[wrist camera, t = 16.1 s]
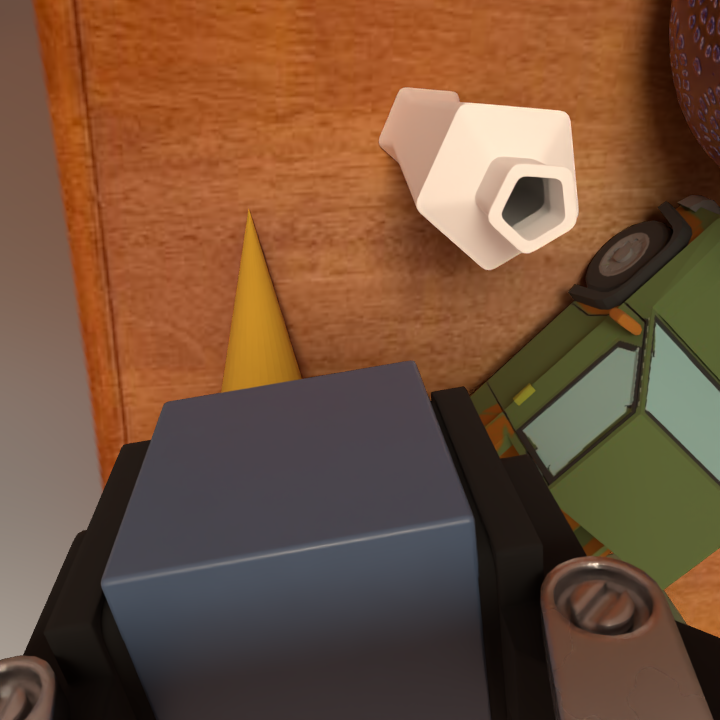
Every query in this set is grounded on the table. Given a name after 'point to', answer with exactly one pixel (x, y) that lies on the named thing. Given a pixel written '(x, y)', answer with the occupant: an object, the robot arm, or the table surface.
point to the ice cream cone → (257, 326)
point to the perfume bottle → (485, 171)
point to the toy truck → (628, 396)
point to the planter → (697, 68)
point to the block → (302, 557)
